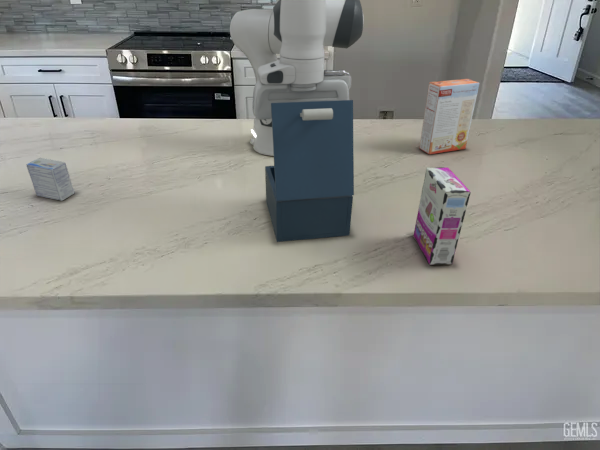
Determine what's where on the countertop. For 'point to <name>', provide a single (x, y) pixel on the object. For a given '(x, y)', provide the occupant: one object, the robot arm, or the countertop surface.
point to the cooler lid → (313, 149)
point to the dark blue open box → (307, 214)
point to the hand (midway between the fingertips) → (300, 136)
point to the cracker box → (448, 115)
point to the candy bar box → (440, 215)
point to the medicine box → (50, 178)
